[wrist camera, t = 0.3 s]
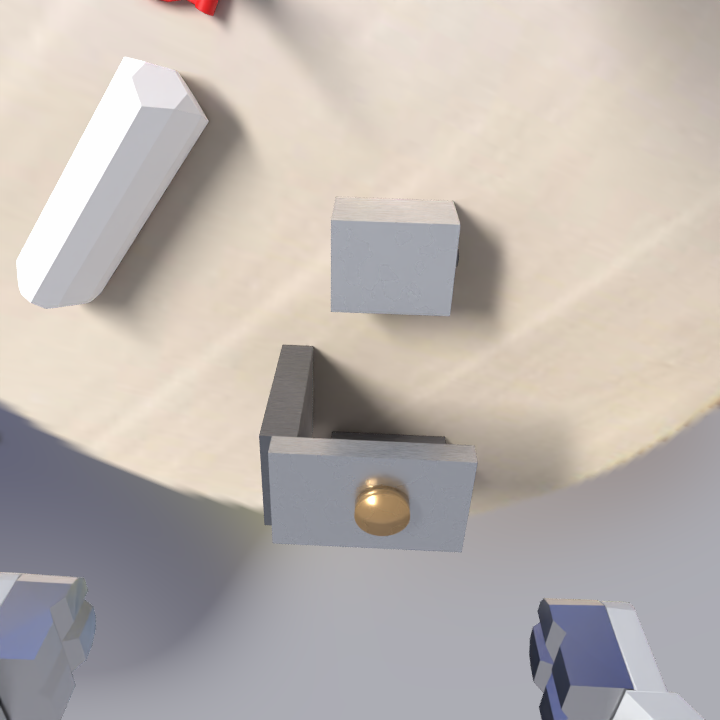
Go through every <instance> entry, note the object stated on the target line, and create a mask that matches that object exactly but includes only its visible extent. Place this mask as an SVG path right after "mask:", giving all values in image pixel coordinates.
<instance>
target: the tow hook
mask: <svg viewBox="0 0 720 720" xmlns="http://www.w3.org/2000/svg"><path fill="white" fill-rule="evenodd" d="M162 1H167V2H171V1H179V0H162ZM188 1H189V2H191V3H193V4H195V7H196V8H197V9H198V10H200V11H201V12H203V13H205V14H208V15H211V16H213V15H214V12H215V9H216V6H217V3H218V0H188Z"/></svg>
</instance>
